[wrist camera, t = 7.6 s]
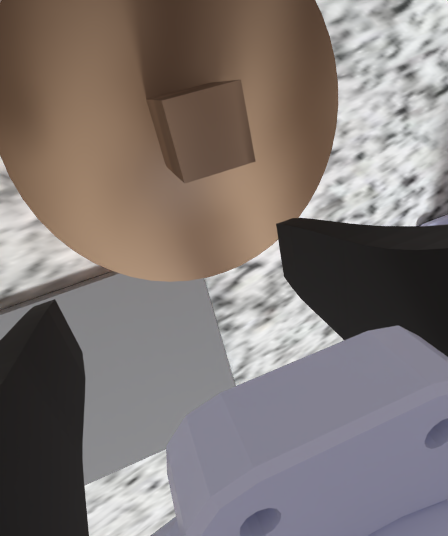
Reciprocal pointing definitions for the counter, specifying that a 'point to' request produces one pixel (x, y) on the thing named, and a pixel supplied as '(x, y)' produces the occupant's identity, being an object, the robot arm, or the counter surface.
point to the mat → (137, 361)
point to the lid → (166, 125)
